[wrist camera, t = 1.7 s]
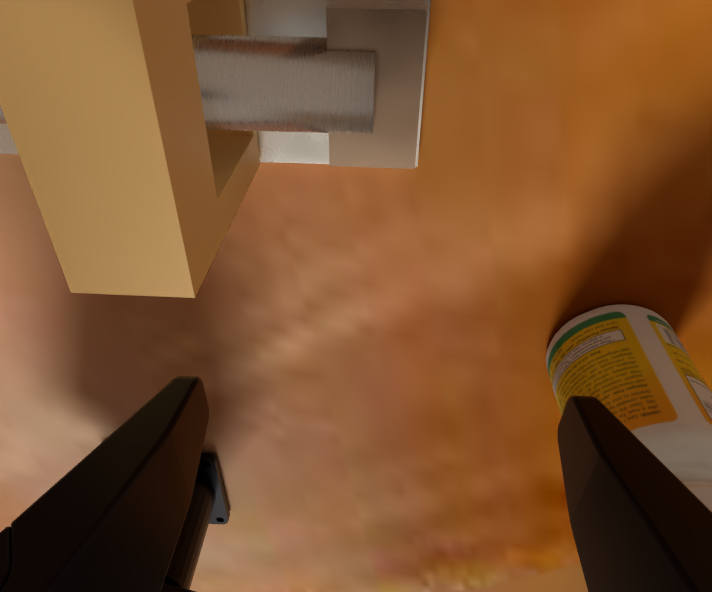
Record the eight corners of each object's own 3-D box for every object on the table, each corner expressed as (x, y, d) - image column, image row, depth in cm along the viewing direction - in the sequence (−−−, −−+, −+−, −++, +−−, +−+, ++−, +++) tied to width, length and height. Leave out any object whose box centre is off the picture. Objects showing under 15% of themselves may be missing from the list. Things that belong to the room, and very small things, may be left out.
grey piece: (435, -77, 15) (449, -64, 11) (416, 159, 20) (422, 229, 16) (-371, -88, 16) (-615, -80, 12) (-225, 139, 21) (-372, 200, 17)
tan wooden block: (235, -78, 15) (121, -52, 9) (260, 164, 19) (194, 298, 13) (127, -80, 15) (-60, -55, 9) (175, 161, 19) (70, 292, 13)
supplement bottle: (692, 306, 23) (843, 520, 15) (641, 394, 26) (745, 608, 18) (563, 293, 23) (649, 500, 15) (528, 383, 26) (584, 592, 18)
